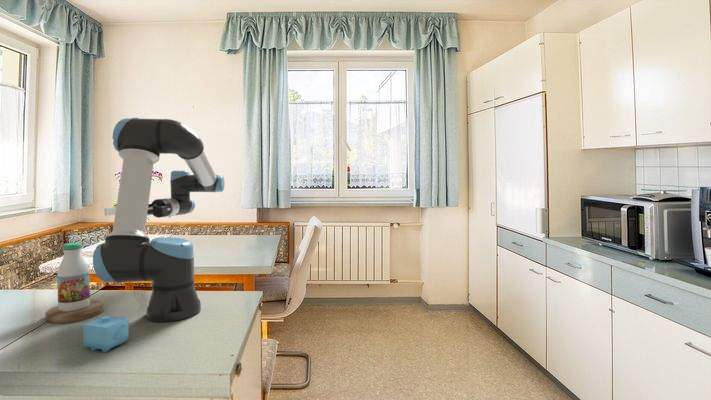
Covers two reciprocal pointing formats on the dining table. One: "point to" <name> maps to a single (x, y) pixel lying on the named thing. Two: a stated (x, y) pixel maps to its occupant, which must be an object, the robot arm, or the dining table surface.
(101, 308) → the brown round coaster
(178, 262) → the robot arm
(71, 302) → the milk bottle
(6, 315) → the dining table surface
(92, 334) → the light blue box
